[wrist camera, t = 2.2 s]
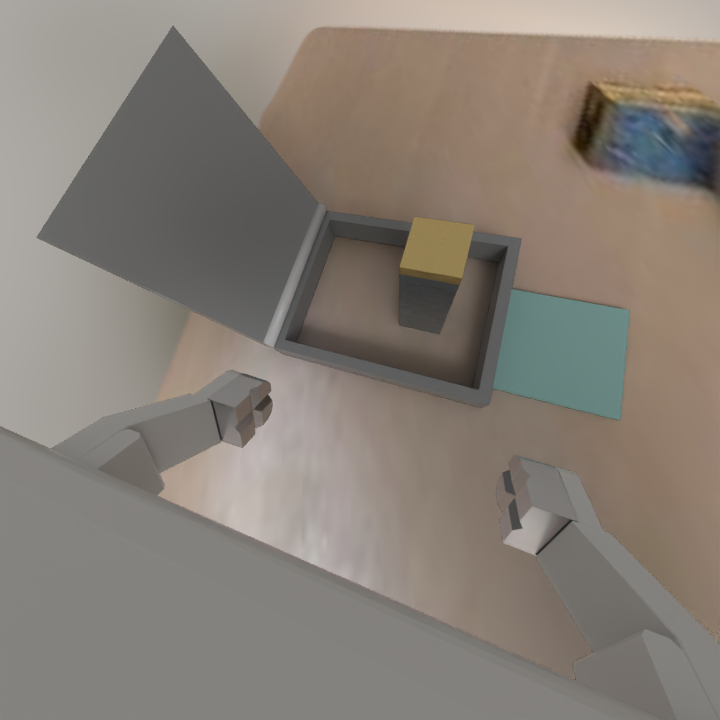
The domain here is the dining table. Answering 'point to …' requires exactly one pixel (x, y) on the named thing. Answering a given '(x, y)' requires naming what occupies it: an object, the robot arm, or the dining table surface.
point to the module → (431, 272)
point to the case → (232, 221)
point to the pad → (564, 353)
